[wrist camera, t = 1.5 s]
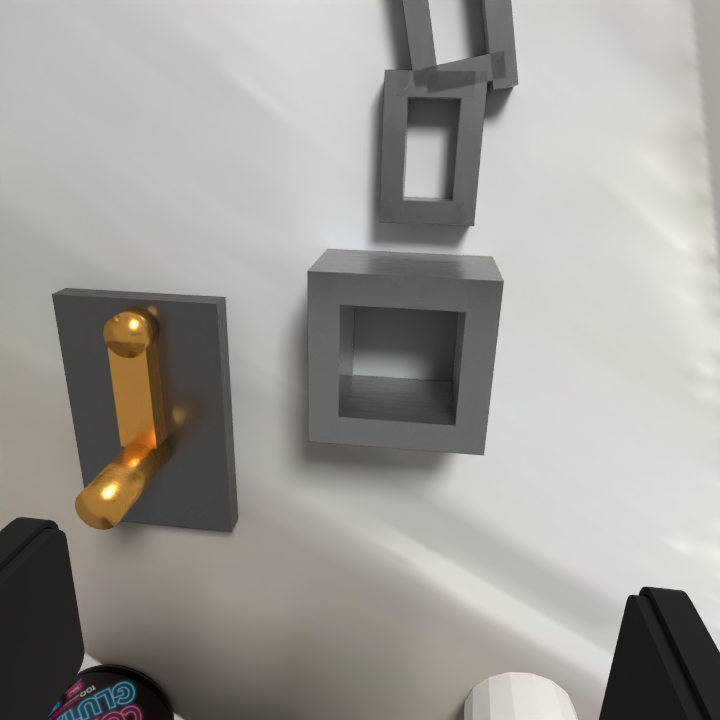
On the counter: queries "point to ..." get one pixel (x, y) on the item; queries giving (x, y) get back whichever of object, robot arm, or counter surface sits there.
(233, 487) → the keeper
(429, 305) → the end link
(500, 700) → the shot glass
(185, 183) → the counter surface
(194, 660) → the counter surface
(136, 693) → the supplement container
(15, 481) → the counter surface
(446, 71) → the chain tail
